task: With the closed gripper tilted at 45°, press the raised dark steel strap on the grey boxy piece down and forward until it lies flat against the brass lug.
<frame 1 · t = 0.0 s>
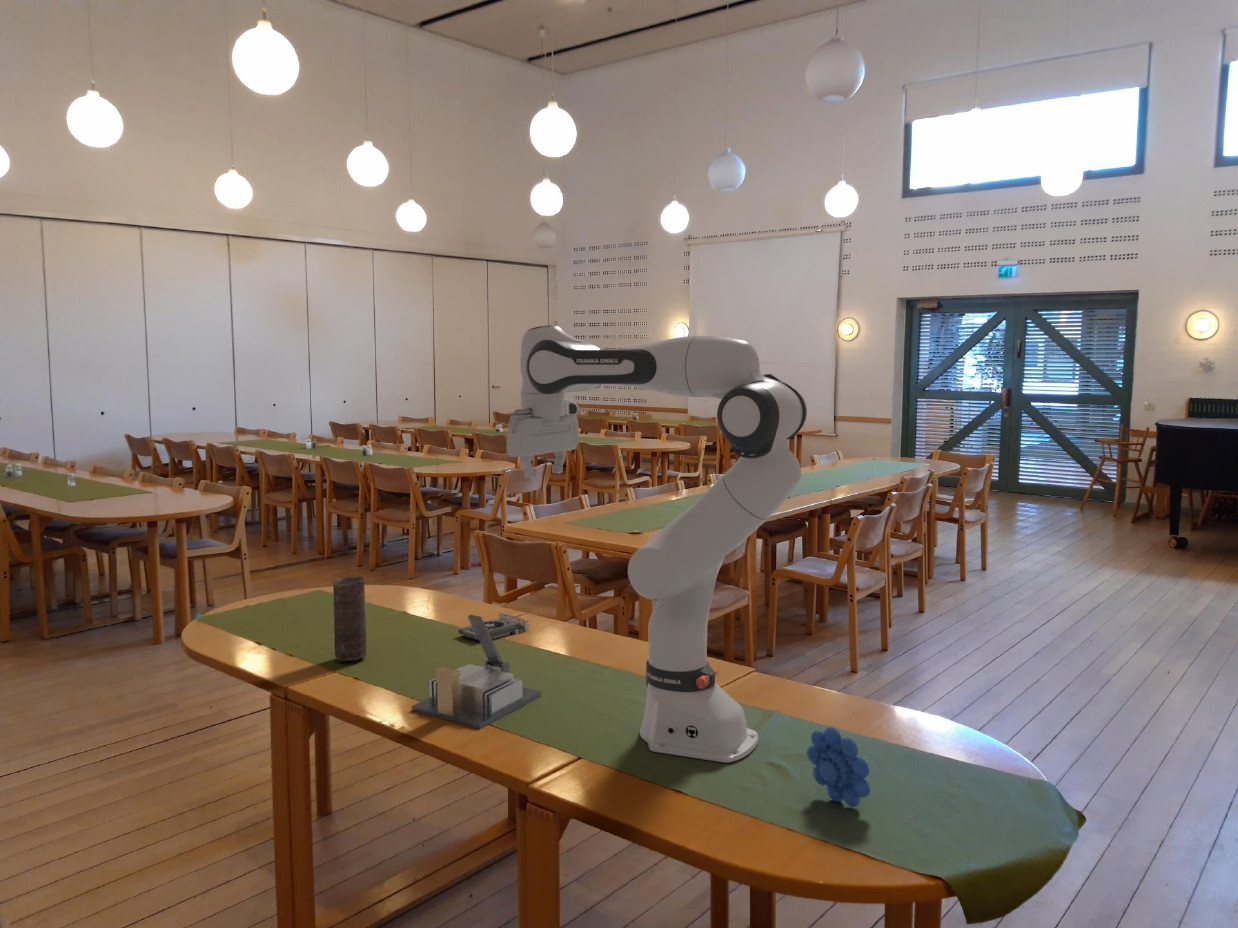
hand: (543, 475, 179), 48 cm above the table, fingers open, 8 cm apart
blue flower: (833, 804, 142), on the table
retention strap: (486, 641, 185), point 12 cm above the table, hinge at 60.0°
candle: (351, 660, 211), on the table
grey boxy piece: (479, 702, 184), on the table
graphics card: (490, 635, 233), on the table
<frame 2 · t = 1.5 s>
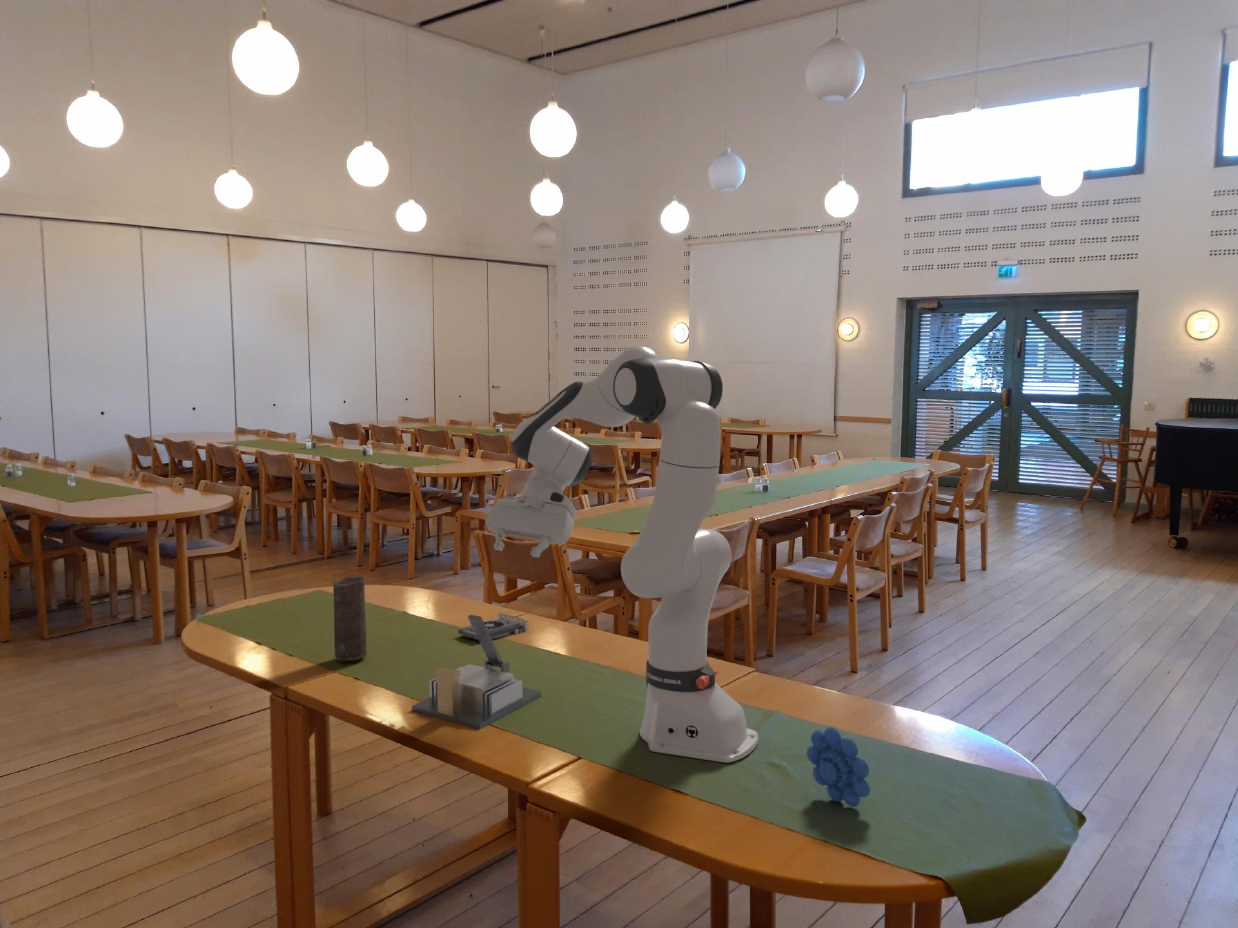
hand: (515, 552, 192), 30 cm above the table, fingers open, 8 cm apart
nothing on the table moved.
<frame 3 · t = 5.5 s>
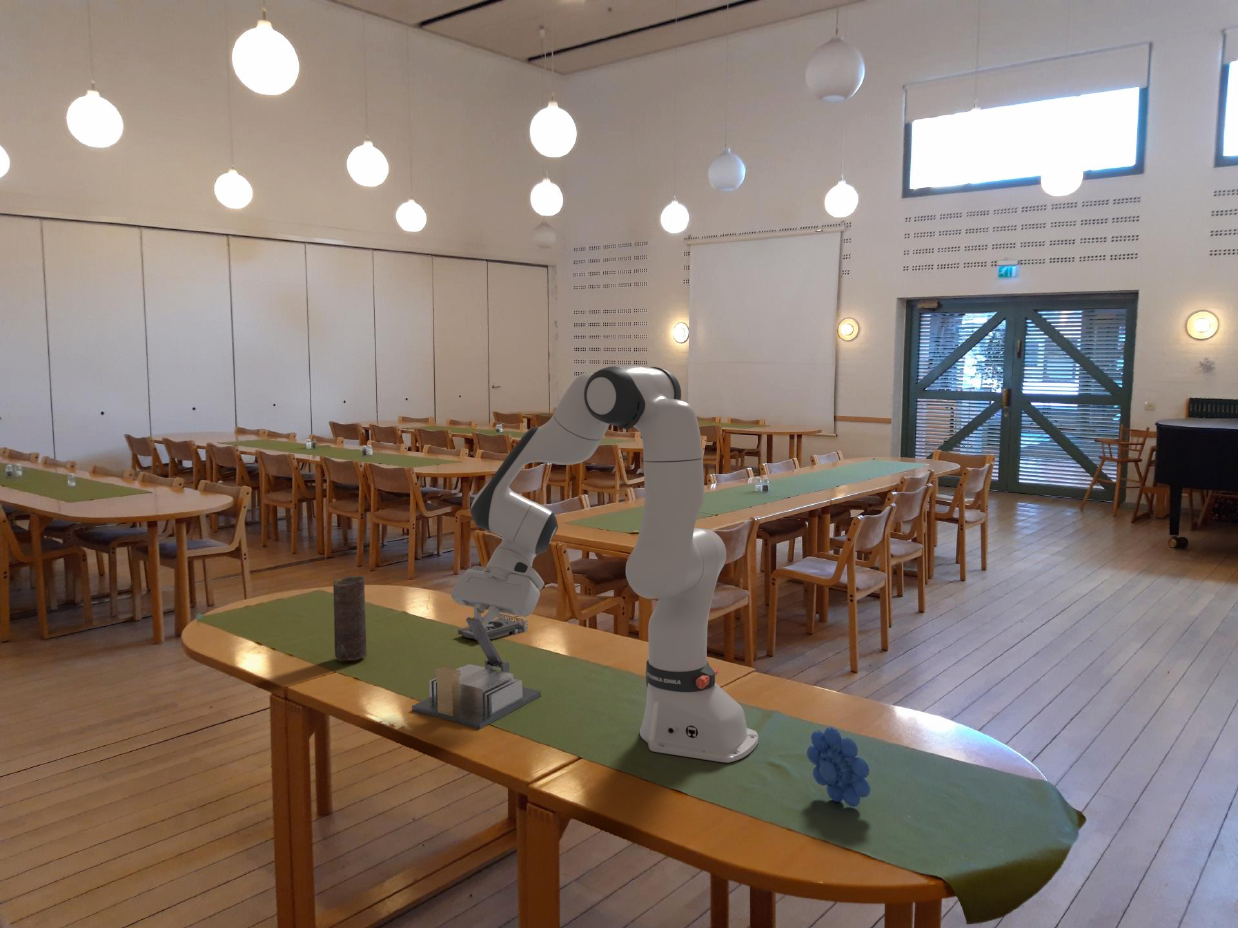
hand: (477, 626, 183), 16 cm above the table, fingers closed, pressing on retention strap
retention strap: (485, 643, 185), point 12 cm above the table, hinge at 56.9°, touching gripper
everything else where it was.
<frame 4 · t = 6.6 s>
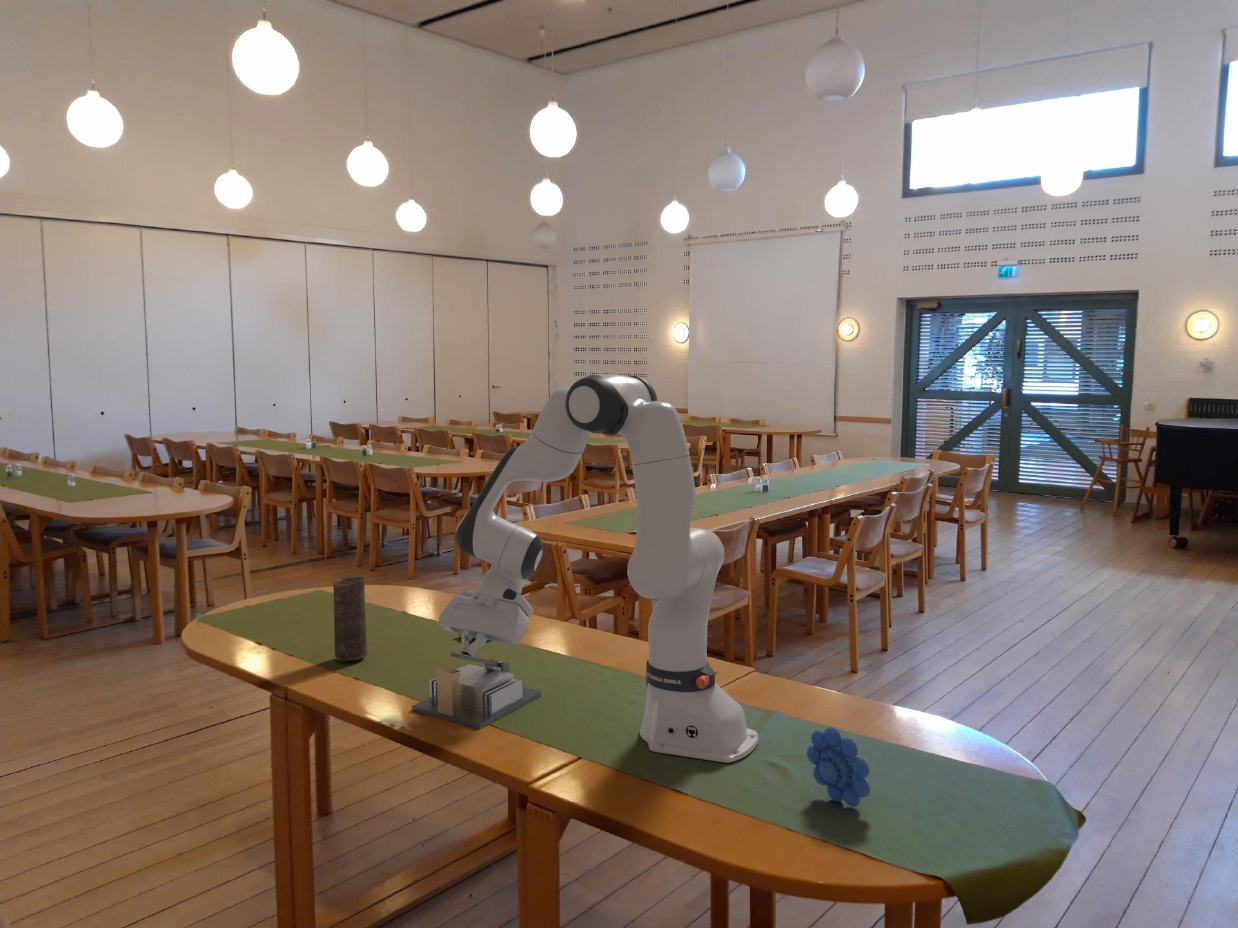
hand: (465, 653, 180), 11 cm above the table, fingers closed, pressing on retention strap
retention strap: (478, 659, 183), point 9 cm above the table, hinge at 23.5°, touching gripper
everything else where it was.
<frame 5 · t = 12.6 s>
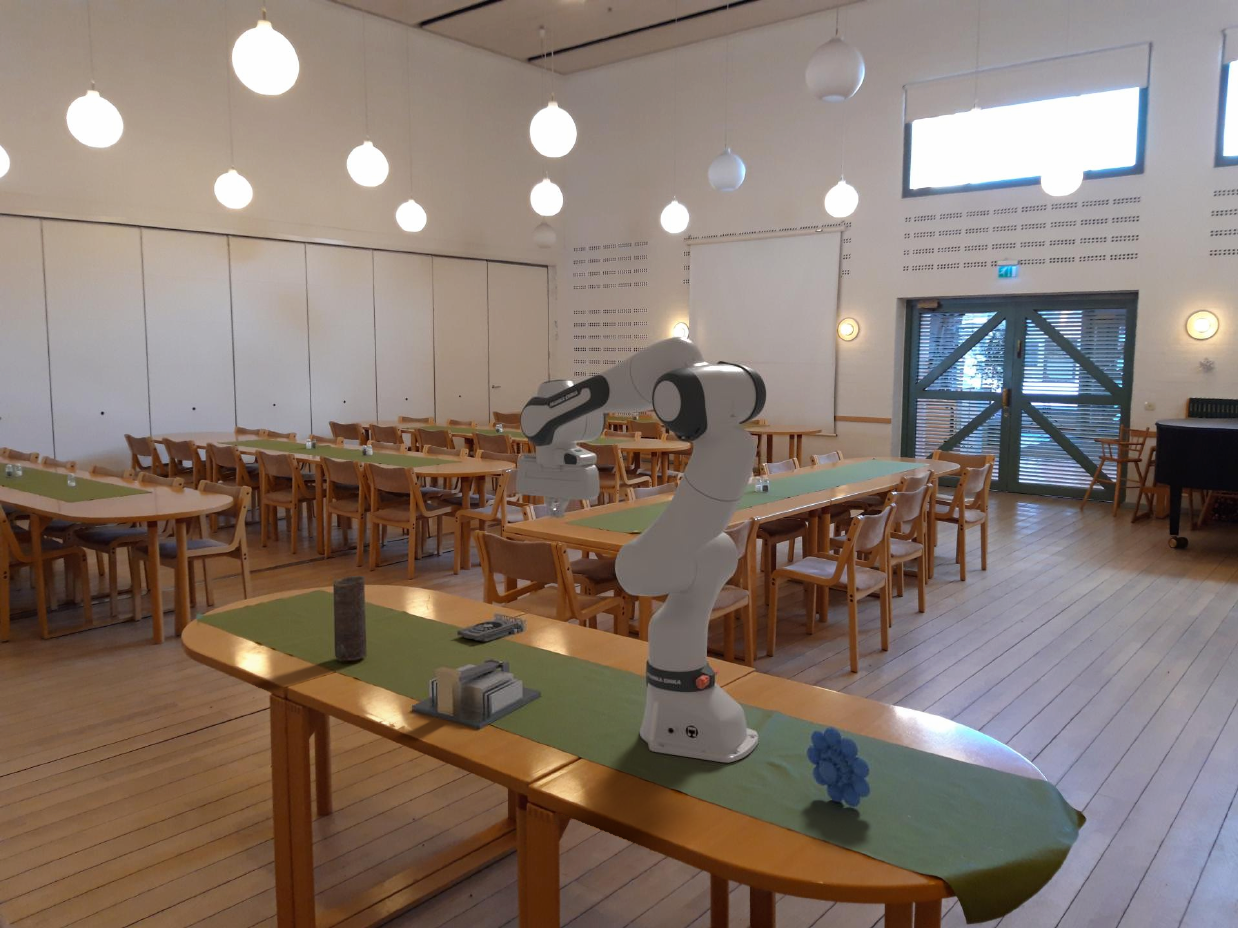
hand: (557, 517, 193), 37 cm above the table, fingers closed
retention strap: (476, 670, 183), point 7 cm above the table, hinge at 4.4°
everything else where it was.
at the end: retention strap at +4° (first picture: +60°); the gripper is holding nothing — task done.
